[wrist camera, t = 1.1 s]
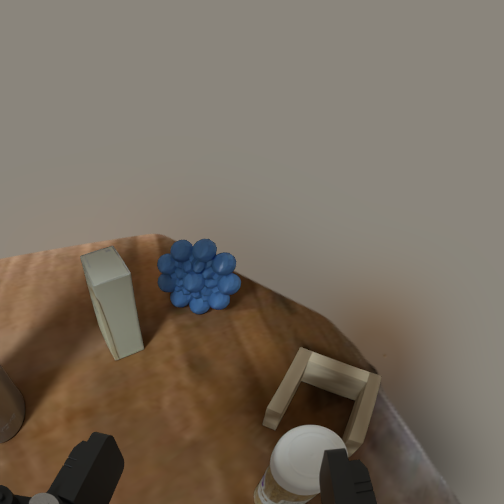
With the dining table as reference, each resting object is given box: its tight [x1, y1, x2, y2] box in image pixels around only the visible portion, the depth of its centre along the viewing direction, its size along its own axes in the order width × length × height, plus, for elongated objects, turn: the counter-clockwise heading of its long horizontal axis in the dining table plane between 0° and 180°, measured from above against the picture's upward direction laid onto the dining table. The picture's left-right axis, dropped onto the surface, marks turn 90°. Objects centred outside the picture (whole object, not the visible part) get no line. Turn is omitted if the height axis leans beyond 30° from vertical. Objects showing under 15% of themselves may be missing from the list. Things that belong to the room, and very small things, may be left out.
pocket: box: [262, 347, 382, 458], centre depth 30 cm, size 10×9×4 cm
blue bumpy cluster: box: [157, 239, 241, 314], centre depth 41 cm, size 12×7×12 cm, turn 76°
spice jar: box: [254, 425, 348, 504], centre depth 19 cm, size 5×5×14 cm
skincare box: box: [80, 246, 144, 360], centre depth 34 cm, size 6×4×12 cm
